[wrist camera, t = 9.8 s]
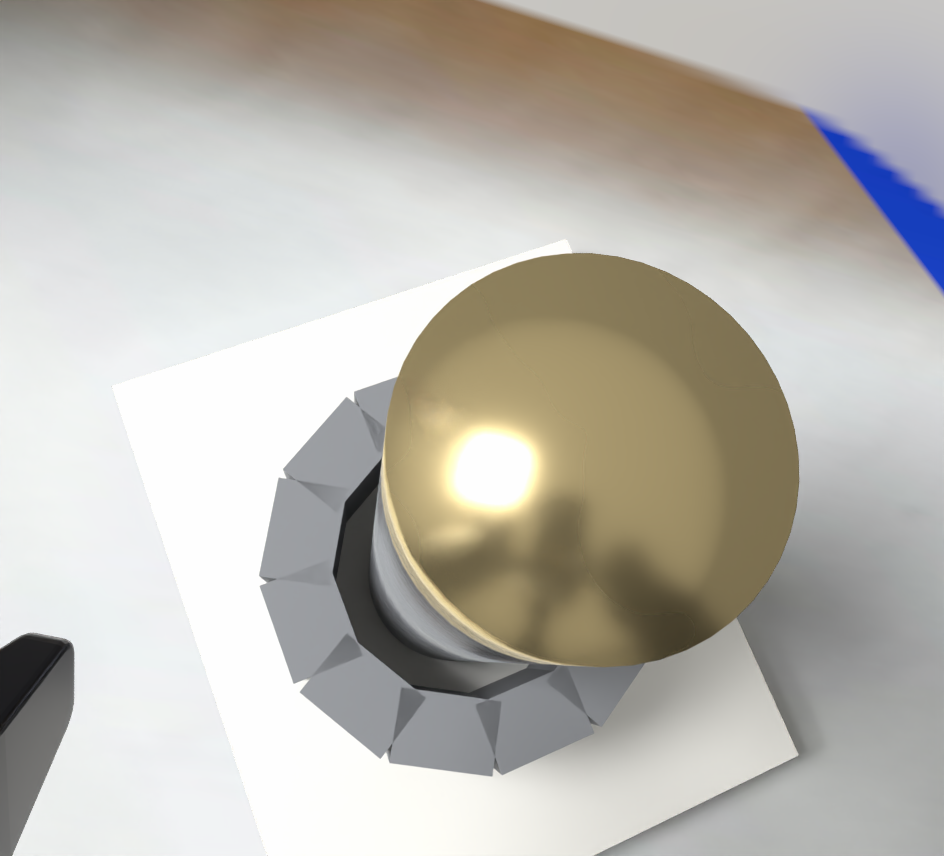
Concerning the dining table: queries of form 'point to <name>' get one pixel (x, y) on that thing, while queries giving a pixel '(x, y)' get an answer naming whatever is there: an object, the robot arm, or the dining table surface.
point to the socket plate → (376, 650)
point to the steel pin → (579, 470)
